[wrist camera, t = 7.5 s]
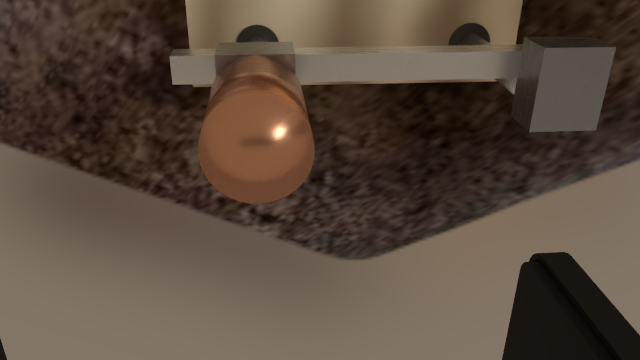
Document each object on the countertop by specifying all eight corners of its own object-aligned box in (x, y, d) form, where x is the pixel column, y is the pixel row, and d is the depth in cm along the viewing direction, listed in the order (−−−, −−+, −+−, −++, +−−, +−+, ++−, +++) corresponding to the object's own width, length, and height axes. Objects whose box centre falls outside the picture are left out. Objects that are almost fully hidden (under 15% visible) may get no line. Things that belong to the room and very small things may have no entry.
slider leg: (287, -1, 33) (315, 95, 17) (288, 61, 34) (314, 201, 19) (224, -1, 32) (192, 98, 17) (228, 62, 34) (202, 205, 18)
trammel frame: (507, -3, 34) (627, 46, 23) (498, 56, 36) (606, 129, 25) (194, -2, 32) (160, 53, 21) (199, 60, 34) (171, 142, 23)
